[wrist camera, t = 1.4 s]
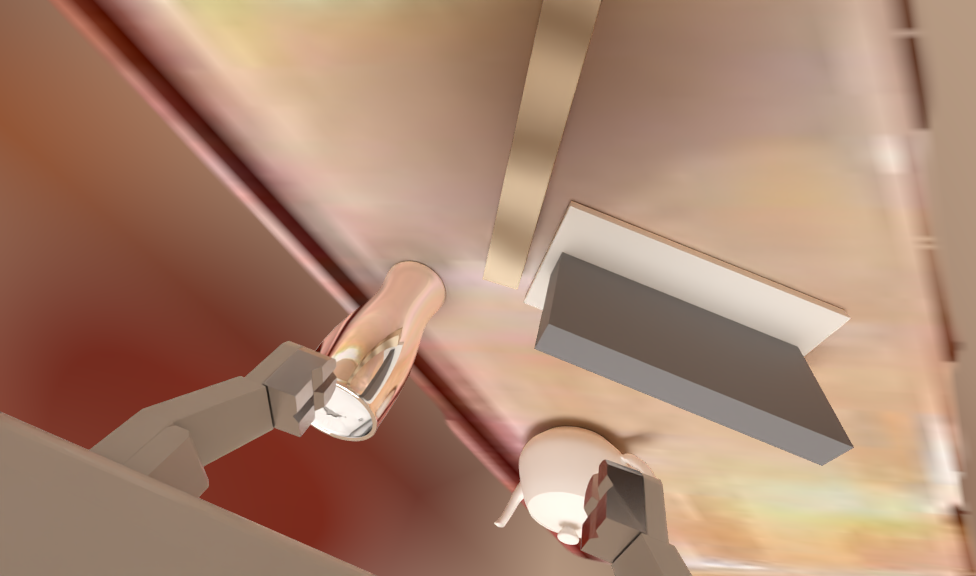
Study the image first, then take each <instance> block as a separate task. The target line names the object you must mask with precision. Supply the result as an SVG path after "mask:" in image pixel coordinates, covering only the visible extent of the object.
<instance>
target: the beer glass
mask: <svg viewBox="0 0 976 576" xmlns="http://www.w3.org/2000/svg"><path fill="white" fill-rule="evenodd" d="M444 300H445V287H444V284H443V282H442V280H441V279H440V277H439V276H438V275H437V274H436V273H435V272H434V271H433V270H432V269H430V268H429V267H427V266H425V265H423V264H421V263H418V262H414V261H403V262H400V263H397V264H395V265H394V266H393V267H392V268H391V269H390V270H389V271H388V273H387V275H386V277H385V279H384V282H383V284H382V286H381V287H380V289H379V290H378V292H377V293H376V294H375V295H374V296H373V297H372V298H370V299H369V300H368V301H367V302H365V303H364V304H363V305H361V306H360V307H359V308H358V309H356V310H355V311H354V312H353V313H351V314H350V315H349V316H347V317H346V318H345V319H344V320H343V321H342V322H341V323H339V324H338V326H336V327H335V328H334V329H333V330H332V331H331V332H330V333H329V335H328V336H327V337H326V338H325V339H324V340H323V342H322V343H321V344H320V345H319V346H318V348H317V349H316V350H315V351H316V352H319V353H321V354H324V355H326V356H329V357H331V358H334V359H336V368H335V369H334V371H333V373H334V374H335V376H336V377H337V384H336V388H335V391H334V393H333V395H332V397H331V399H330V400H329V402H328V403H327V404H326V406H325V407H323V408H321V409H319V410H316V411H315V419H314V421H313V422H312V423H311V424H310V425H312V426H313V427H315V428H316V429H318V430H320V431H322V432H323V433H326V434H328V435H330V436H333V437H335V438H339V439H343V440H348V441H362V440H366V439H368V438H370V437H372V436H373V435H374V434H375V432H376V430H377V428H378V426H379V425H380V423H381V422H382V420H383V418H384V417H385V416H386V414H387V413H388V411H389V410H390V408H391V407H392V405H393V404H394V402H395V400H396V399H397V397H398V395H399V394H400V392H401V390H402V388H403V387H404V384H405V382H406V380H407V378H408V376H409V374H410V372H411V369H412V366H413V364H414V361H415V358H416V355H417V351H418V348H419V345H420V341H421V338H422V334H423V331H424V328H425V326H426V324H427V322H428V321H429V319H430V318H431V317H432V316H433V315H434V314H435V313H436V312H437V311H438V310H439V309H440V307H441V306H442V304H443V303H444Z"/></svg>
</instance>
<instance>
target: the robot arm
mask: <svg viewBox="0 0 976 576" xmlns="http://www.w3.org/2000/svg"><path fill="white" fill-rule="evenodd" d="M335 368H336V359H334V358H331V357H329V356H326V355H324V354H321V353H319V352H316V351H313V350H311V349H309V348H306V347H304V346H301V345H299V344H296V343H293V342H291V341H287V342H285V343H283V344H281V345H280V346H279V347H278V348H277V349H276V350H275V351H274V352H272V353H271V354H270V355H269V356H268V357H267V358H266V359H265V360H264V361H262V362H261V363H260V364H259V365H258V366H257V367H256V368H255V369H254V370H252V371H251V372H250V373H249V374H248V375H247V376H246V377H245V378H244V377H241V376H239V377H236V378H233V379H230V380H227V381H224V382H221V383H218V384H215V385H212V386H209V387H206V388H203V389H200V390H197V391H195V392H191V393H188V394H186V395H183V396H180V397H177V398H174V399H171V400H168V401H165V402H162V403H159V404H156V405H153V406H150V407H147V408H144V409H142V410H141V411H139V412H138V413H136V414H135V415H134V416H133V417H131V418H130V419H129V420H127V421H126V422H125V423H124V424H122V425H121V426H120V427H118V428H117V429H116V430H114V431H113V432H112V433H111V434H109V435H108V436H107V437H105V438H104V439H103V440H102V441H100V442H99V443H98V444H96V445H95V446H94V447H92V448H91V449H90V450H87V449H85V448H83V447H80V446H78V445H76V444H74V443H71V442H69V441H67V440H64V439H62V438H60V437H57V436H55V435H53V434H50V433H48V432H46V431H44V430H41V429H39V428H36V427H34V426H32V425H30V424H27V423H25V422H23V421H20V420H18V419H16V418H14V417H11V416H9V415H7V414H4V413H2V412H0V576H376V575H374V574H372V573H369V572H367V571H365V570H363V569H360V568H358V567H356V566H353V565H351V564H349V563H347V562H344V561H342V560H340V559H337V558H335V557H333V556H331V555H328V554H326V553H324V552H321V551H319V550H317V549H314V548H312V547H310V546H308V545H305V544H303V543H301V542H298V541H296V540H294V539H291V538H289V537H287V536H285V535H282V534H280V533H277V532H275V531H273V530H271V529H269V528H266V527H264V526H262V525H259V524H257V523H255V522H252V521H250V520H248V519H245V518H243V517H241V516H239V515H236V514H234V513H232V512H229V511H227V510H225V509H223V508H220V507H218V506H216V505H213V504H211V503H209V502H207V501H204V500H202V499H200V498H199V497H200V495H201V494H202V493H203V492H204V491H205V490H206V489H207V488H208V485H209V480H208V478H207V475H206V473H205V470H204V468H203V466H205V465H207V464H209V463H211V462H212V461H214V460H216V459H218V458H220V457H222V456H224V455H226V454H228V453H229V452H231V451H233V450H235V449H237V448H239V447H241V446H242V445H244V444H246V443H248V442H250V441H252V440H254V439H256V438H258V437H259V436H261V435H263V434H265V433H267V432H269V431H271V430H273V427H274V428H277V429H280V430H282V431H285V432H288V433H290V434H293V435H296V436H299V437H301V436H302V434H303V433H304V432H305V431H306V429H307V428H308V427H309V426H310V424H311V423H312V422H313V421H314V419H315V411H316V410H319V409H321V408H323V407H325V406H326V404H327V403H328V402H329V400H330V399H331V397H332V395H333V393H334V391H335V388H336V384H337V377H336V376H335V374H334V373H333V371H334V369H335ZM584 510H585V512H586V514H587V516H588V517H587V519H586V520H585V522H584V523H583V524H582V538H581V550H582V551H584V552H586V553H589V554H591V555H593V556H595V557H598V558H600V559H602V560H605V561H607V562H609V563H612V565H611V566H612V569H613V571H614V574H615V576H692V575H691V573H690V571H689V570H688V568H687V566H686V564H685V563H684V561H683V559H682V558H681V556H680V554H679V553H678V551H677V549H676V548H675V546H673V545H671V544H669V540H668V531H667V521H666V512H665V502H664V493H663V484H662V482H661V480H660V479H657V478H655V477H652V476H649V475H646V474H643V473H640V471H637V470H634V469H631V468H628V467H626V466H623V465H620V464H617V463H614V462H612V461H609V460H606V459H605V460H603V461H602V462H601V464H600V465H599V473H597V474H593V476H592V477H591V479H590V481H589V483H588V486H587V489H586V493H585V499H584Z"/></svg>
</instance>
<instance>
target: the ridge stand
mask: <svg viewBox="0 0 976 576" xmlns="http://www.w3.org/2000/svg"><path fill="white" fill-rule="evenodd" d="M524 303H526V304H528V305H531V306H533V307H536V308H538V309H541V310H543V312H542V316H541V321H540V326H539V330H538V335H537V339H536V344H535V349H536V350H539V351H541V352H544V353H546V354H549V355H551V356H554V357H556V358H558V359H561V360H563V361H566V362H568V363H571V364H573V365H576V366H578V367H581V368H583V369H586V370H588V371H590V372H593V373H595V374H598V375H600V376H603V377H605V378H608V379H610V380H613V381H615V382H617V383H620V384H622V385H625V386H627V387H630V388H632V389H635V390H637V391H640V392H642V393H645V394H647V395H649V396H652V397H654V398H657V399H659V400H662V401H664V402H667V403H669V404H672V405H674V406H676V407H679V408H681V409H684V410H686V411H689V412H691V413H694V414H696V415H699V416H701V417H704V418H706V419H708V420H711V421H713V422H716V423H718V424H721V425H723V426H726V427H728V428H731V429H733V430H735V431H738V432H740V433H743V434H745V435H748V436H750V437H753V438H755V439H758V440H760V441H762V442H765V443H767V444H770V445H772V446H775V447H777V448H780V449H782V450H785V451H787V452H790V453H792V454H794V455H797V456H799V457H802V458H804V459H807V460H809V461H812V462H814V463H817V464H819V465H821V466H822V465H824V464H826V463H828V462H829V461H831V460H833V459H835V458H836V457H838V456H840V455H842V454H843V453H845V452H847V451H849V450H850V449H852V448H854V447H853V445H852V443H851V442H850V440H849V438H848V436H847V434H846V433H845V431H844V429H843V427H842V425H841V423H840V422H839V420H838V418H837V416H836V414H835V413H834V411H833V409H832V407H831V405H830V404H829V402H828V400H827V398H826V396H825V395H824V393H823V391H822V389H821V387H820V386H819V384H818V382H817V380H816V378H815V377H814V375H813V373H812V371H811V369H810V367H809V366H808V364H807V362H806V360H805V358H804V356H805V355H806V354H808V353H809V352H810V351H811V350H813V349H814V348H815V347H816V346H817V345H819V344H820V343H821V342H822V341H824V340H825V339H826V338H827V337H829V336H830V335H831V334H832V333H834V332H835V331H836V330H837V329H839V328H840V327H841V326H842V325H843V324H845V323H846V322H847V321H848V320H850V319H851V318H850V316H849V315H848V314H847V313H846V311H845V310H843V309H841V308H838V307H836V306H833V305H831V304H828V303H826V302H823V301H821V300H818V299H816V298H813V297H811V296H808V295H806V294H803V293H801V292H798V291H796V290H793V289H791V288H788V287H786V286H783V285H781V284H778V283H776V282H773V281H771V280H768V279H766V278H763V277H761V276H758V275H756V274H753V273H751V272H748V271H746V270H743V269H741V268H738V267H736V266H733V265H731V264H728V263H726V262H723V261H721V260H718V259H716V258H713V257H711V256H708V255H706V254H703V253H701V252H698V251H696V250H693V249H691V248H688V247H686V246H683V245H681V244H678V243H676V242H673V241H671V240H668V239H666V238H663V237H661V236H658V235H656V234H653V233H651V232H648V231H646V230H643V229H641V228H638V227H636V226H633V225H631V224H628V223H626V222H623V221H621V220H618V219H616V218H613V217H611V216H608V215H606V214H603V213H601V212H598V211H596V210H593V209H591V208H588V207H586V206H583V205H581V204H578V203H576V202H573V201H571V202H570V204H569V207H568V209H567V211H566V213H565V215H564V217H563V219H562V221H561V223H560V225H559V227H558V230H557V232H556V234H555V236H554V238H553V240H552V242H551V244H550V246H549V248H548V250H547V252H546V255H545V257H544V259H543V261H542V263H541V265H540V267H539V269H538V271H537V273H536V275H535V277H534V280H533V282H532V284H531V286H530V288H529V290H528V292H527V294H526V296H525V300H524Z"/></svg>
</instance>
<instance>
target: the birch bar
mask: <svg viewBox="0 0 976 576" xmlns="http://www.w3.org/2000/svg"><path fill="white" fill-rule="evenodd" d="M601 2H602V0H543V3H542V7H541V12H540V17H539V21H538V26H537V30H536V35H535V40H534V44H533V49H532V53H531V58H530V63H529V67H528V72H527V77H526V81H525V86H524V90H523V95H522V100H521V104H520V109H519V113H518V118H517V123H516V127H515V132H514V137H513V141H512V146H511V150H510V155H509V160H508V164H507V169H506V173H505V178H504V183H503V187H502V192H501V197H500V201H499V206H498V210H497V215H496V220H495V224H494V229H493V233H492V238H491V243H490V247H489V252H488V257H487V261H486V266H485V270H484V275H483V280H487V281H490V282H493V283H497V284H500V285H503V286H507V287H510V288H513V289H518V286H519V282H520V279H521V276H522V273H523V270H524V266H525V263H526V259H527V256H528V253H529V249H530V246H531V242H532V239H533V235H534V232H535V229H536V225H537V222H538V218H539V215H540V211H541V208H542V204H543V201H544V198H545V194H546V191H547V187H548V184H549V180H550V177H551V174H552V170H553V167H554V163H555V160H556V156H557V153H558V150H559V146H560V143H561V139H562V136H563V132H564V129H565V125H566V122H567V119H568V115H569V112H570V108H571V105H572V101H573V98H574V95H575V91H576V88H577V84H578V81H579V77H580V74H581V70H582V67H583V64H584V60H585V57H586V53H587V50H588V46H589V43H590V40H591V36H592V33H593V29H594V26H595V22H596V19H597V16H598V12H599V9H600V5H601Z"/></svg>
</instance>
